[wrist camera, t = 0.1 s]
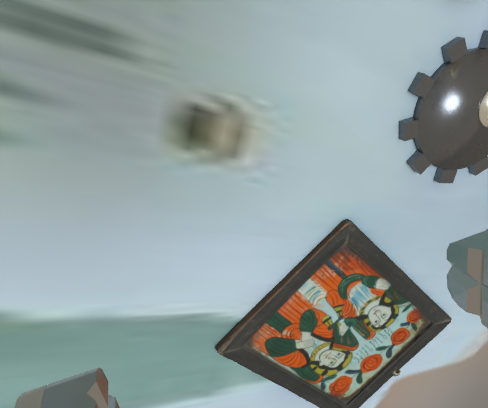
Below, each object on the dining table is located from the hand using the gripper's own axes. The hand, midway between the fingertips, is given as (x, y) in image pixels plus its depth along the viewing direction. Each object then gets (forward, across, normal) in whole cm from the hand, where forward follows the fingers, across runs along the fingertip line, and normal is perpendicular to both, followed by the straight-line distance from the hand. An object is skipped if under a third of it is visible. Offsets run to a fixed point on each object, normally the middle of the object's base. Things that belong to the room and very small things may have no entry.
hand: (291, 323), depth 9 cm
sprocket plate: (+40, -40, +11) cm, 58 cm away
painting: (+44, -20, +43) cm, 65 cm away
